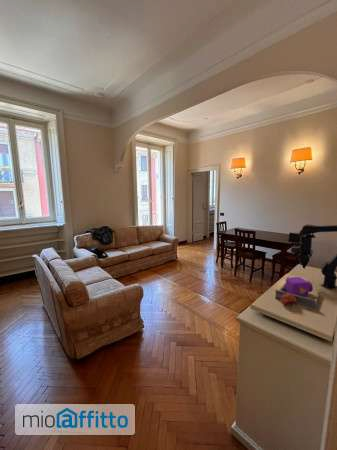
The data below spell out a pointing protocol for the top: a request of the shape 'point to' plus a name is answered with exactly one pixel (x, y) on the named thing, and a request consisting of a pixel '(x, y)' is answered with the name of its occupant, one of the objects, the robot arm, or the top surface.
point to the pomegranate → (288, 299)
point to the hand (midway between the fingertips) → (304, 266)
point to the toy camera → (298, 286)
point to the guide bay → (299, 298)
